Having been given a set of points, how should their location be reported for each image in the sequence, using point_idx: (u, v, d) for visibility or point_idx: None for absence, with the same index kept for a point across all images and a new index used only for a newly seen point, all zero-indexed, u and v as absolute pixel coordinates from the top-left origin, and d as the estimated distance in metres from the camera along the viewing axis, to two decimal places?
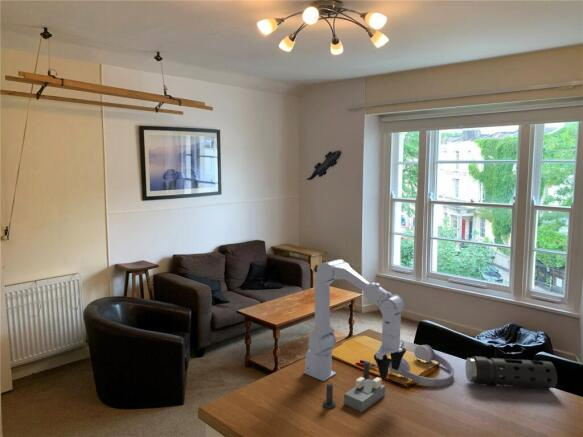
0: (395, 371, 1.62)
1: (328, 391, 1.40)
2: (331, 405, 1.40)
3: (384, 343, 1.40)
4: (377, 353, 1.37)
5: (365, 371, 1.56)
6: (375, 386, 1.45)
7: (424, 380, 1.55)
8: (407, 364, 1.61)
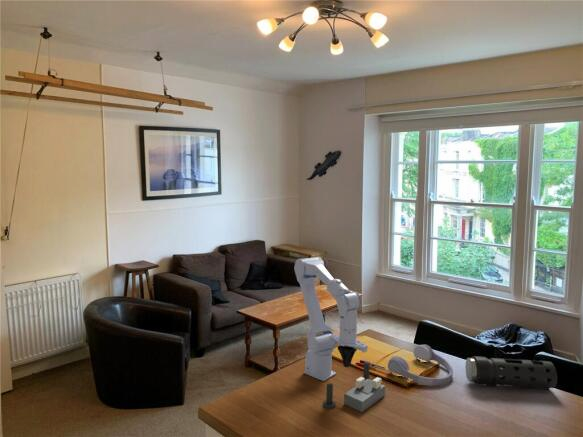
0: (394, 371, 1.62)
1: (328, 391, 1.40)
2: (331, 405, 1.40)
3: None
4: None
5: (365, 371, 1.56)
6: (375, 386, 1.45)
7: (423, 380, 1.55)
8: (406, 364, 1.61)
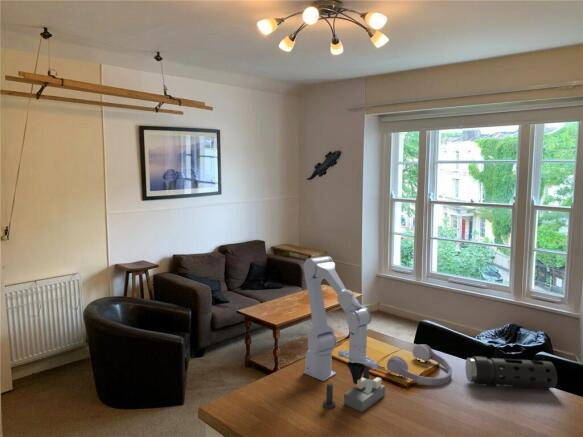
0: (393, 370, 1.62)
1: (328, 391, 1.40)
2: (331, 405, 1.40)
3: None
4: None
5: (365, 371, 1.56)
6: (375, 386, 1.45)
7: (422, 379, 1.55)
8: (405, 363, 1.61)
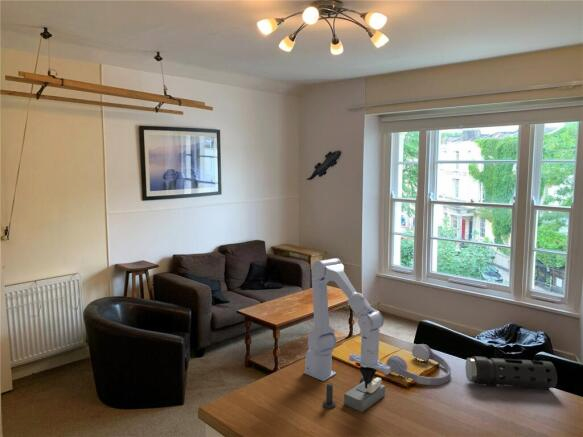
0: (392, 370, 1.62)
1: (328, 391, 1.40)
2: (331, 405, 1.40)
3: None
4: None
5: None
6: None
7: (421, 379, 1.56)
8: (404, 363, 1.62)
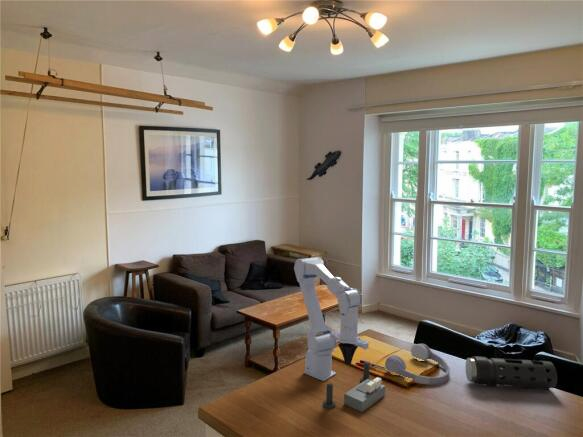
0: (391, 369, 1.63)
1: (328, 391, 1.40)
2: (331, 405, 1.40)
3: None
4: None
5: (365, 371, 1.56)
6: (375, 386, 1.45)
7: (420, 378, 1.56)
8: (403, 362, 1.62)
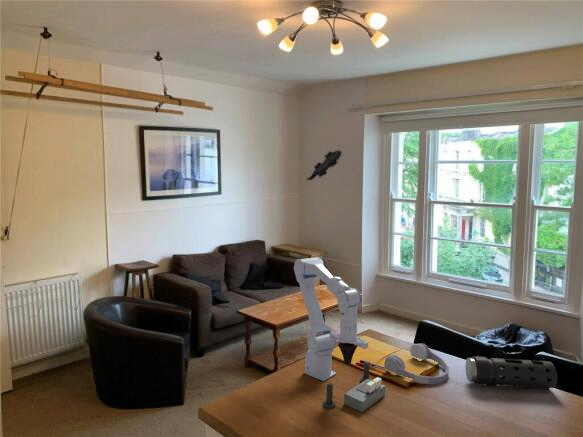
0: (390, 369, 1.63)
1: (328, 391, 1.40)
2: (331, 405, 1.40)
3: None
4: None
5: (365, 371, 1.56)
6: (375, 386, 1.45)
7: (419, 378, 1.56)
8: (402, 362, 1.62)
